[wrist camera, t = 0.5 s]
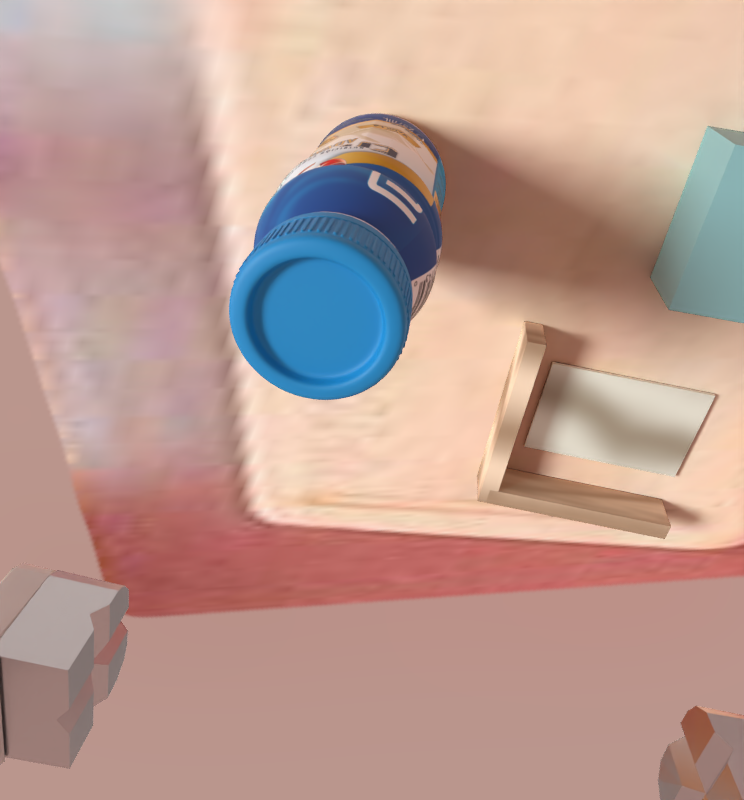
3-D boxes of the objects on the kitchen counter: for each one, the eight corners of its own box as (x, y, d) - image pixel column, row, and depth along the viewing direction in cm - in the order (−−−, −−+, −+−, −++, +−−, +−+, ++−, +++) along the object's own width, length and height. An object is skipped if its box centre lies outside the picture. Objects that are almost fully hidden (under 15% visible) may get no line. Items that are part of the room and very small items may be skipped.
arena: (524, 321, 46) (527, 341, 43) (730, 361, 45) (745, 384, 43) (477, 475, 53) (477, 501, 50) (655, 511, 52) (664, 538, 50)
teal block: (706, 125, 39) (735, 144, 34) (797, 140, 38) (837, 162, 34) (649, 276, 43) (668, 309, 39) (729, 290, 43) (757, 325, 39)
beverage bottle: (350, 271, 45) (278, 450, 29) (284, 149, 42) (156, 272, 25) (471, 215, 43) (469, 378, 26) (410, 80, 39) (362, 166, 22)
